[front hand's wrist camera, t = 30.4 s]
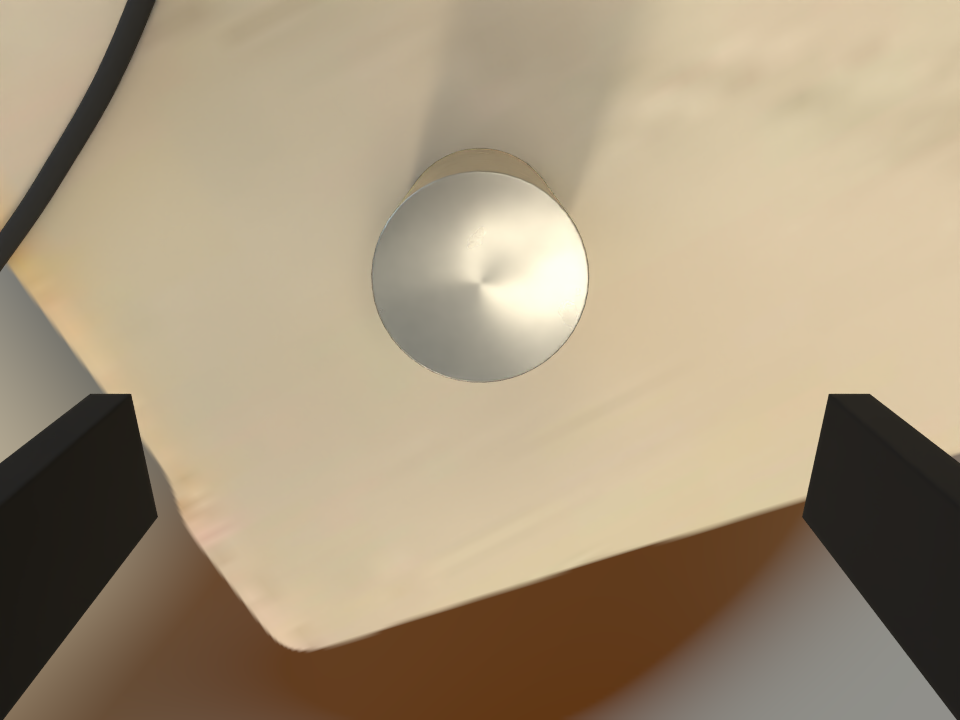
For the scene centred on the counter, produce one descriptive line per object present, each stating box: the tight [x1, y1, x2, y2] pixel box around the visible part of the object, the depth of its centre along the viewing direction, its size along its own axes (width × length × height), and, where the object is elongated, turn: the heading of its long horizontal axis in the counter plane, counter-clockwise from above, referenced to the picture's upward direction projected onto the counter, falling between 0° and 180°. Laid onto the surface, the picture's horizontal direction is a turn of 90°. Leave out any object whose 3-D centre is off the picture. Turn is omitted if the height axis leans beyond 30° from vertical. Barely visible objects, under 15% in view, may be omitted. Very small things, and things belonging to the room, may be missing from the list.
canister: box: [371, 148, 589, 382], centre depth 29 cm, size 8×8×10 cm
